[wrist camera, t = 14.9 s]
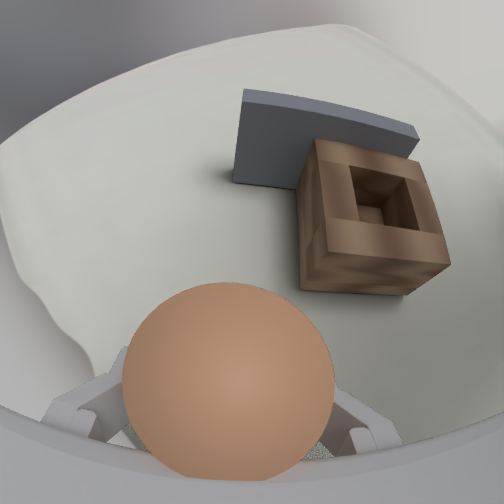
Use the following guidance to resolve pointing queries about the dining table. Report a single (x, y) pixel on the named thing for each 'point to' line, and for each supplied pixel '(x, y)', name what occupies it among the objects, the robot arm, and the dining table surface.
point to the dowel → (228, 383)
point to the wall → (305, 135)
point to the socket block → (366, 222)
